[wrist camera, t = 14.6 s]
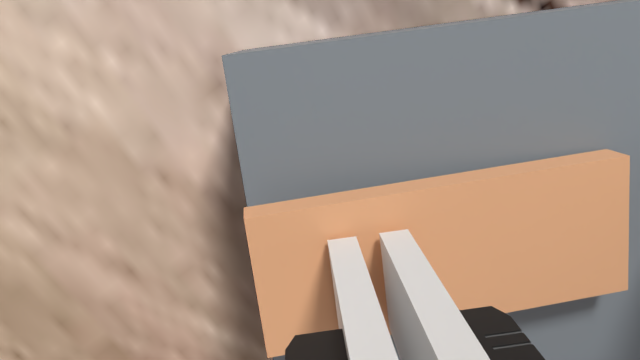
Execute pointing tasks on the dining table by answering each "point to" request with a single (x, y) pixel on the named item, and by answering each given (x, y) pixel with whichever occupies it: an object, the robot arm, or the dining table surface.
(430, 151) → the slate block
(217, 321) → the dining table surface
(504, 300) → the bar
